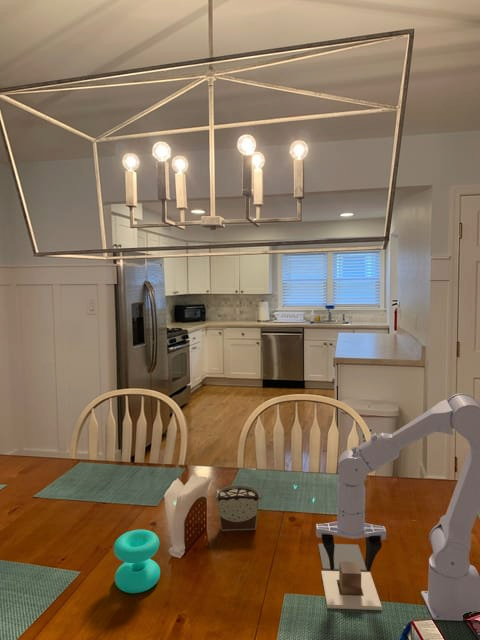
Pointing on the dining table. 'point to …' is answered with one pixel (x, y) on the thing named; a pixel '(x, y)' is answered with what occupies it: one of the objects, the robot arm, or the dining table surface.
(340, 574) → the block
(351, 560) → the mat
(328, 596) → the pocket plate
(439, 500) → the dining table surface
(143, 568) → the turquoise spool
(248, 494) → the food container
